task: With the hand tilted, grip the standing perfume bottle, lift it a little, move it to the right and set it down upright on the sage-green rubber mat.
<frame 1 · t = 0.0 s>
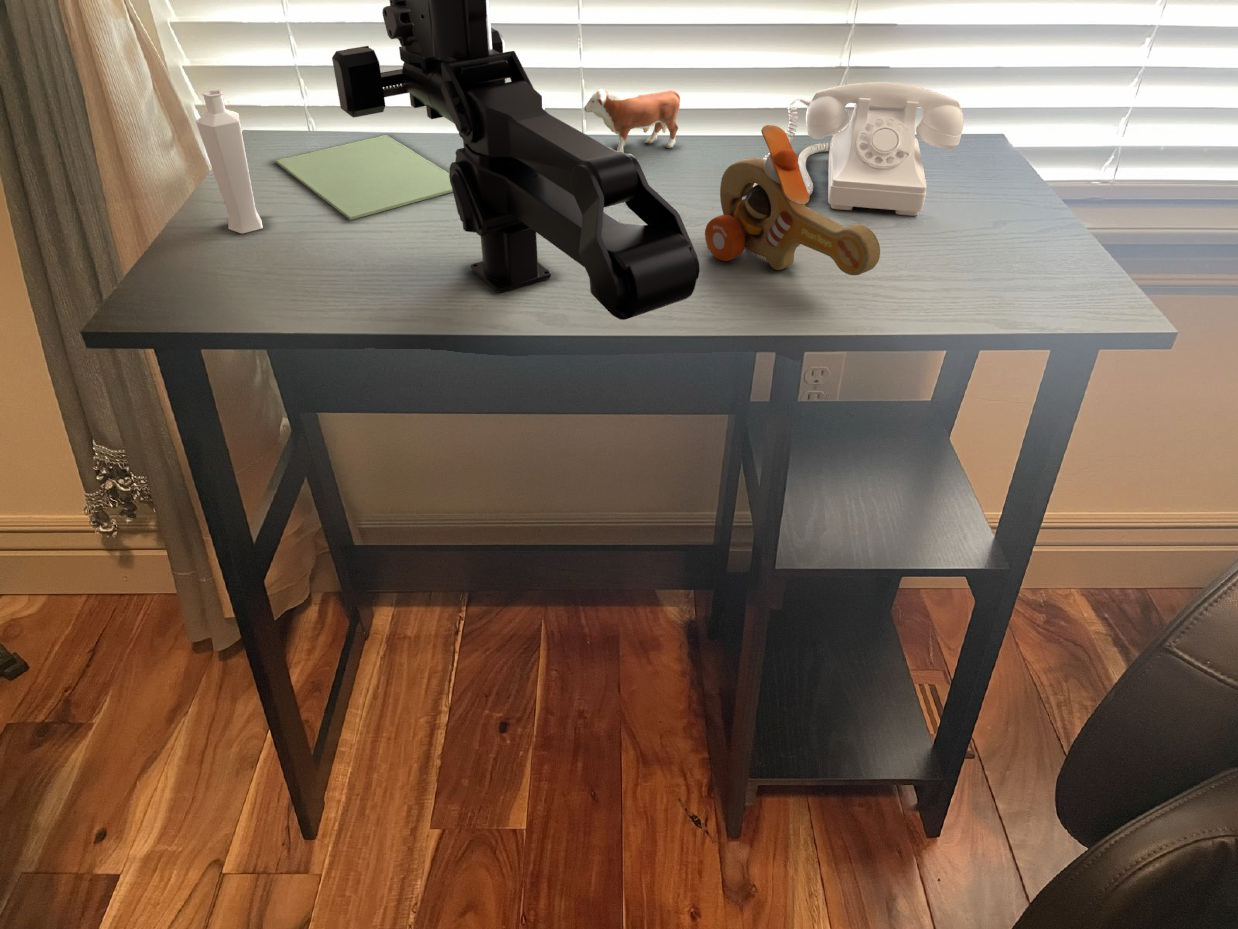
hand: (392, 52, 105), 17 cm above the table, tool horizontal, fingers open, 9 cm apart
mat: (370, 175, 119), on the table
telephone: (847, 181, 120), on the table
bull figurine: (633, 149, 128), on the table
perfume bottle: (245, 227, 107), on the table
toy helicopter: (781, 271, 101), on the table
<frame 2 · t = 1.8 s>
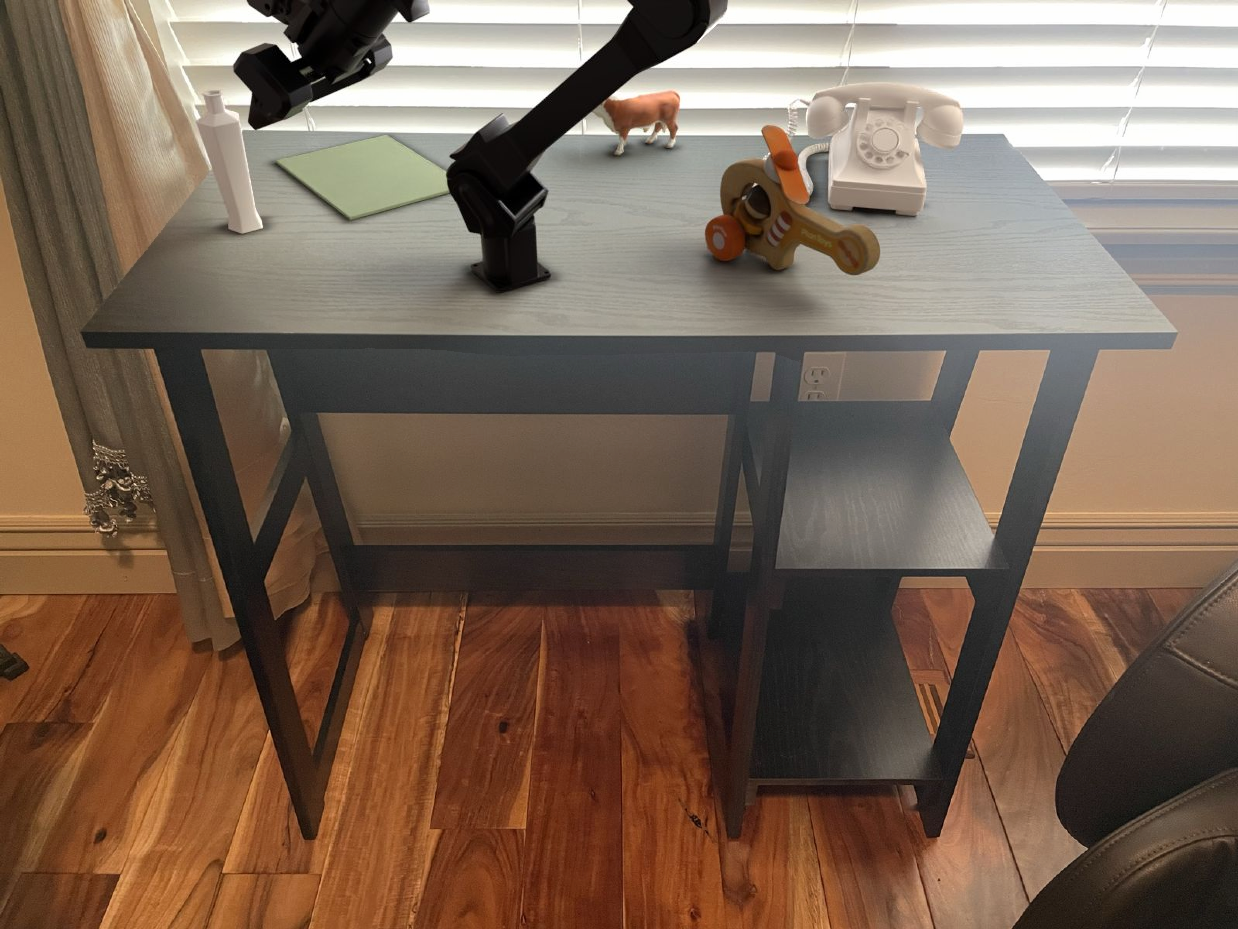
hand: (280, 111, 97), 14 cm above the table, tool tilted 45°, fingers open, 9 cm apart
nothing on the table moved.
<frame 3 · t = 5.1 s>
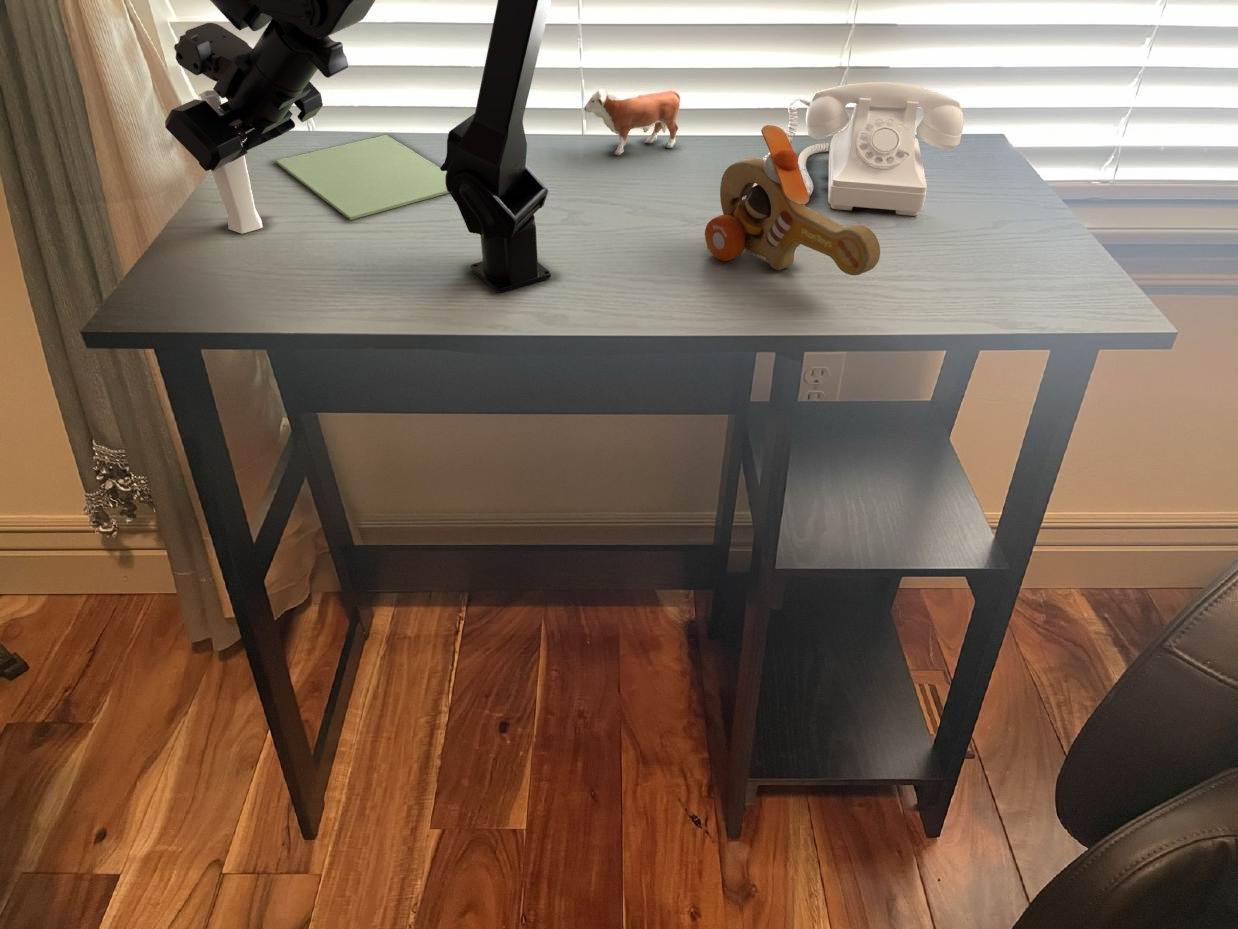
hand: (217, 159, 103), 8 cm above the table, tool tilted 45°, fingers closed on perfume bottle, 4 cm apart
perfume bottle: (245, 227, 107), on the table, touching gripper
everything else where it was.
when the fingers open (8 cm above the table, at t = 12.2 s): perfume bottle stays where it is, resting on mat.
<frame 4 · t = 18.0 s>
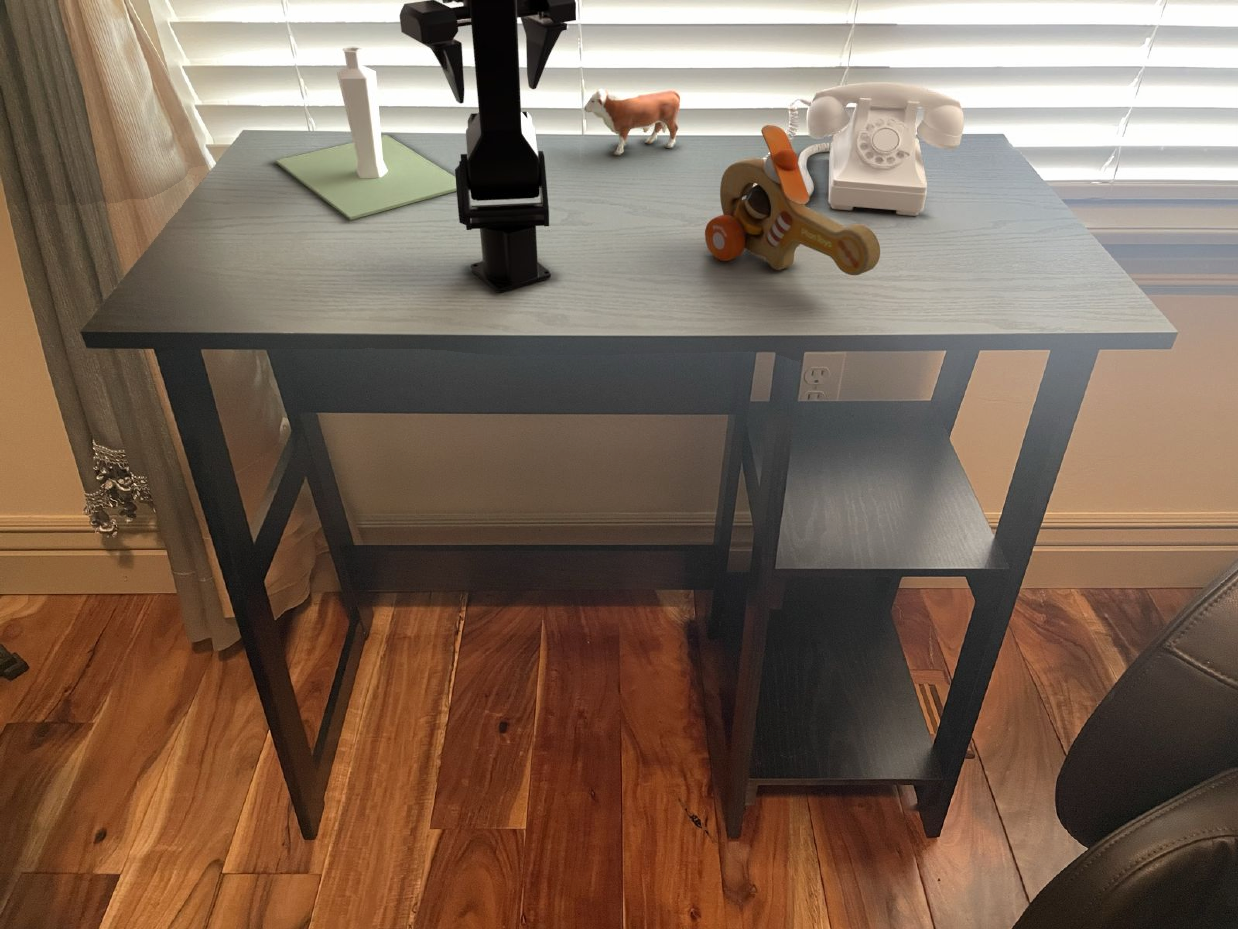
hand: (496, 95, 104), 13 cm above the table, tool pointing down, fingers open, 9 cm apart
perfume bottle: (370, 174, 119), resting on mat
everything else where it was.
at the end: perfume bottle inside the target area on the mat (0.3 cm from its centre), point 0.2 cm above the mat's base; perfume bottle tilted 0°; the gripper is holding nothing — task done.
